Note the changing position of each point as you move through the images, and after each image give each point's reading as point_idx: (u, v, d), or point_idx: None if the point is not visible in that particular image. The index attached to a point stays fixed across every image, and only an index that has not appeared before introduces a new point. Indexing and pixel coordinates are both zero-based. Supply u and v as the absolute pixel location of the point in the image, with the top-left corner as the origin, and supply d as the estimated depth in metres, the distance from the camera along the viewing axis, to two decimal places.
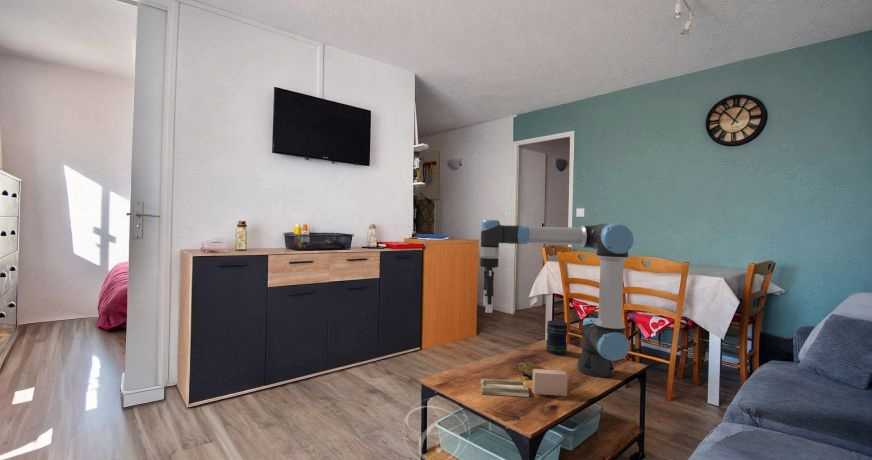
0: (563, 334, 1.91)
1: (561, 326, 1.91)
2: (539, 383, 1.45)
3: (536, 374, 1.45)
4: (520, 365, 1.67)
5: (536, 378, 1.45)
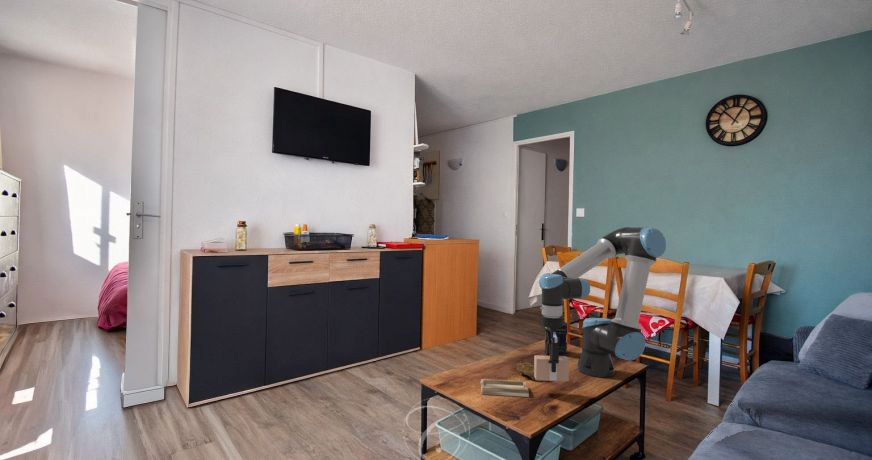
0: (563, 334, 1.91)
1: None
2: (540, 369, 1.45)
3: (538, 360, 1.45)
4: (518, 366, 1.66)
5: (538, 364, 1.45)
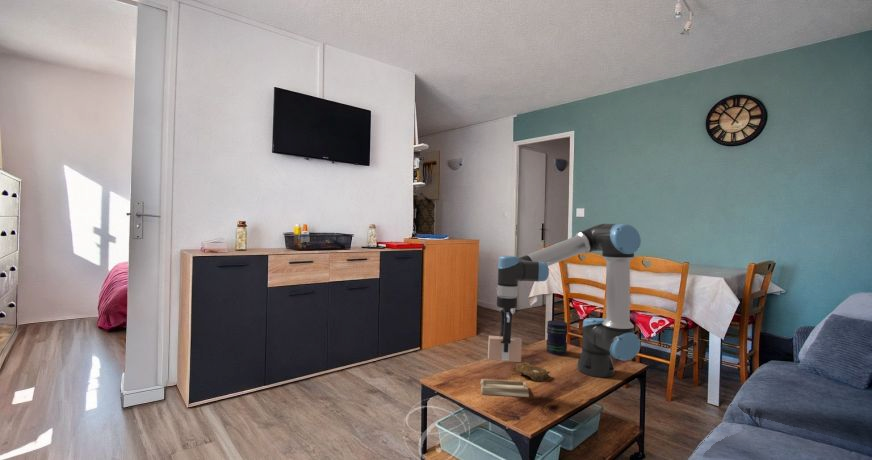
0: (563, 334, 1.91)
1: (561, 326, 1.91)
2: (493, 349, 1.46)
3: (491, 340, 1.46)
4: (518, 366, 1.66)
5: (491, 344, 1.46)
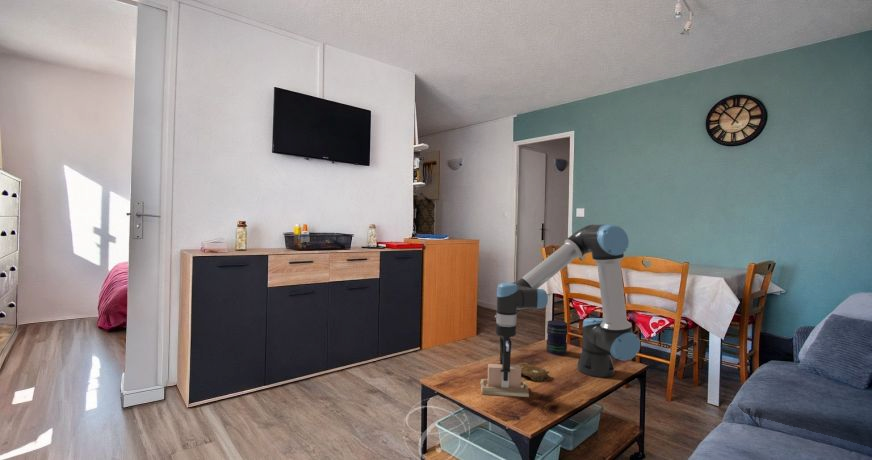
0: (563, 334, 1.91)
1: (561, 326, 1.91)
2: (493, 378, 1.46)
3: (490, 369, 1.46)
4: None
5: (490, 373, 1.46)
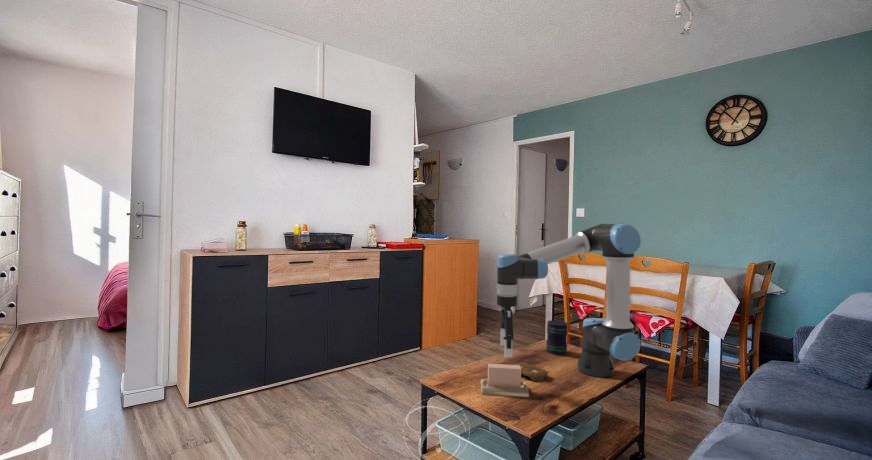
0: (563, 334, 1.91)
1: (561, 326, 1.91)
2: (493, 378, 1.46)
3: (490, 369, 1.46)
4: None
5: (490, 373, 1.46)
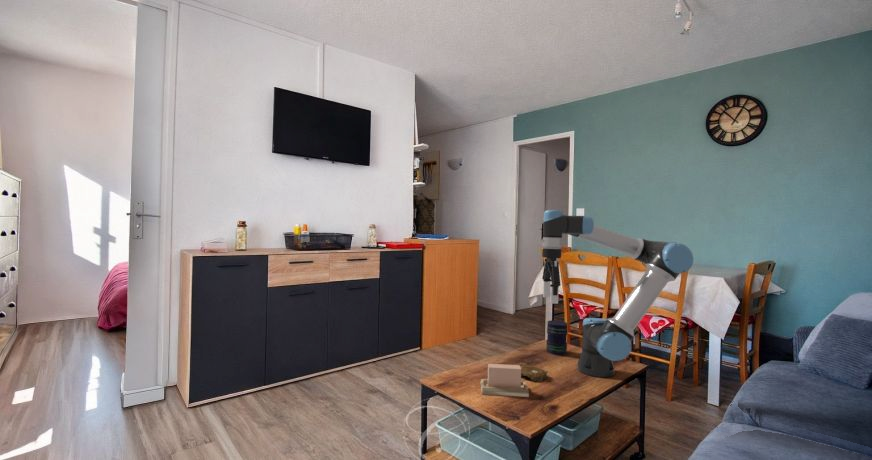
0: (563, 334, 1.91)
1: (561, 326, 1.91)
2: (493, 378, 1.46)
3: (490, 369, 1.46)
4: None
5: (490, 373, 1.46)
